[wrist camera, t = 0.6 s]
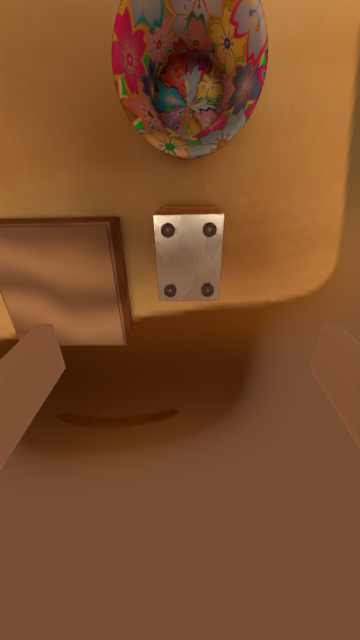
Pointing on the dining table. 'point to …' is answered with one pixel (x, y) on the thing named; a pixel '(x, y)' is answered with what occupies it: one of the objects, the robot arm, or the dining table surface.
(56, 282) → the stand
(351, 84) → the dining table surface
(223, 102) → the mug
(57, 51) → the dining table surface
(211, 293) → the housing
